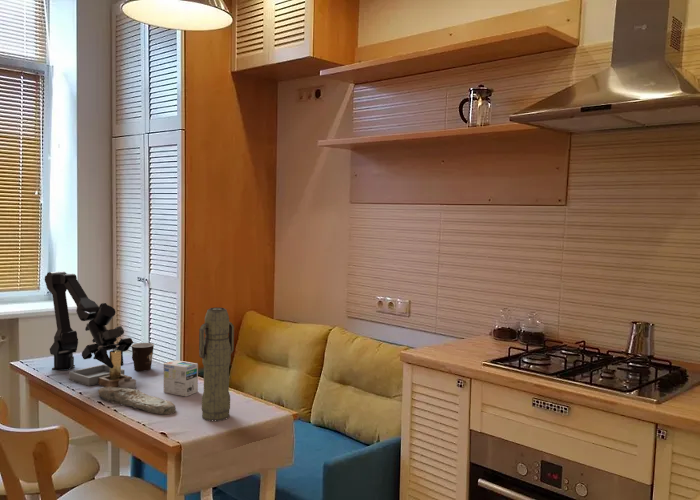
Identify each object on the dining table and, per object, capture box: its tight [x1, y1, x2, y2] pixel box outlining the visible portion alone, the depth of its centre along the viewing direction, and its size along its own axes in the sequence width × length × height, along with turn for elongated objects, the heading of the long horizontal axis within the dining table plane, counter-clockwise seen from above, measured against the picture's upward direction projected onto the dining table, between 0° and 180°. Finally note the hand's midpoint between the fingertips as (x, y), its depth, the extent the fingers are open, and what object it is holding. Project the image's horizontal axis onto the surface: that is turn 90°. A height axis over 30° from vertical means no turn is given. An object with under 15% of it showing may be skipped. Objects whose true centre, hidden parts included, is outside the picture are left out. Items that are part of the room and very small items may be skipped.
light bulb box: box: [163, 359, 199, 397], centre depth 223 cm, size 11×7×11 cm, turn 65°
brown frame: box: [98, 374, 137, 389], centre depth 230 cm, size 14×8×3 cm, turn 55°
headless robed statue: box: [198, 307, 235, 422], centre depth 198 cm, size 9×12×35 cm
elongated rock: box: [97, 386, 177, 415], centre depth 210 cm, size 35×5×10 cm
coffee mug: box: [131, 342, 155, 372], centre depth 251 cm, size 12×9×10 cm
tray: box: [68, 363, 125, 387], centre depth 238 cm, size 13×15×3 cm
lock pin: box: [109, 350, 122, 381], centre depth 231 cm, size 4×4×12 cm
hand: (117, 366), depth 230 cm, fingers closed on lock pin, 4 cm apart
